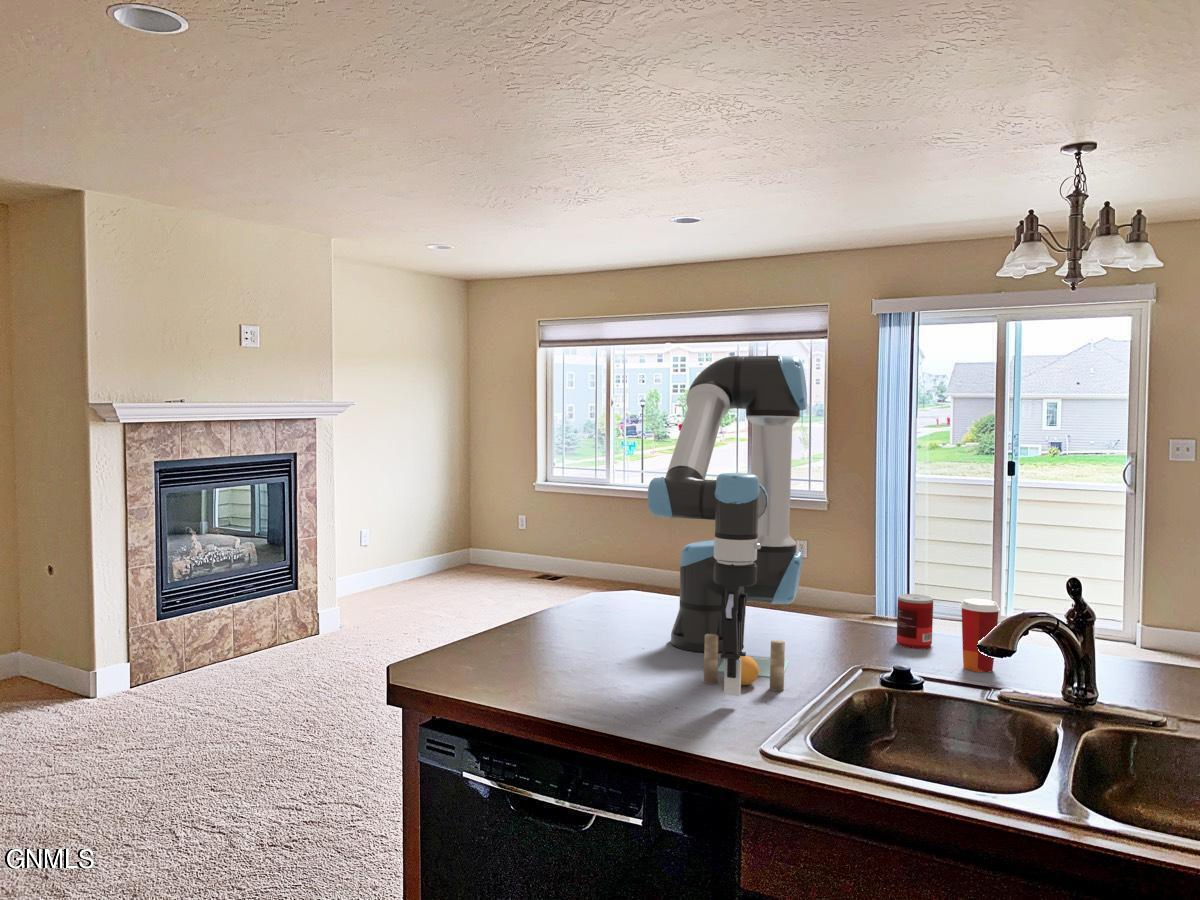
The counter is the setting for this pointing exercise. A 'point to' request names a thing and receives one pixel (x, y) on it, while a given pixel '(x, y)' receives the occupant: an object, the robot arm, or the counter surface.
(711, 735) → the counter surface
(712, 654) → the left post
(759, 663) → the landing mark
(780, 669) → the right post
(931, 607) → the canned food
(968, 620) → the paper cup
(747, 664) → the ball
